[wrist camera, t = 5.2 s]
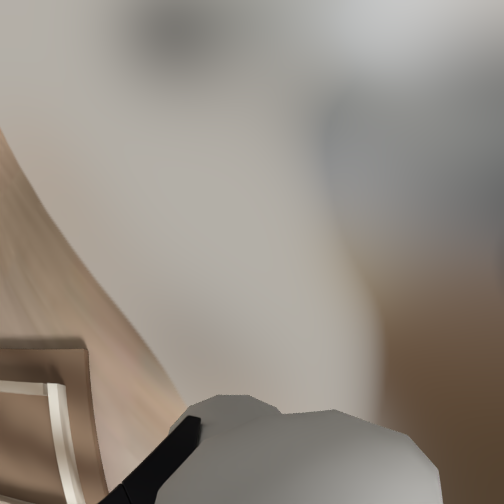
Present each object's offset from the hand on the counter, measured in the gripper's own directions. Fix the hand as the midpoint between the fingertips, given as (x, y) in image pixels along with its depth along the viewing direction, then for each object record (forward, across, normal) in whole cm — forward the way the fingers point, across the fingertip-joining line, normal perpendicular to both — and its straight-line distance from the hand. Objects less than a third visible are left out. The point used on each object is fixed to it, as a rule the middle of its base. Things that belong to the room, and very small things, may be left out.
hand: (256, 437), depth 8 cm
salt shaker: (+4, 0, +6) cm, 7 cm away
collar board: (+4, +14, +15) cm, 21 cm away
